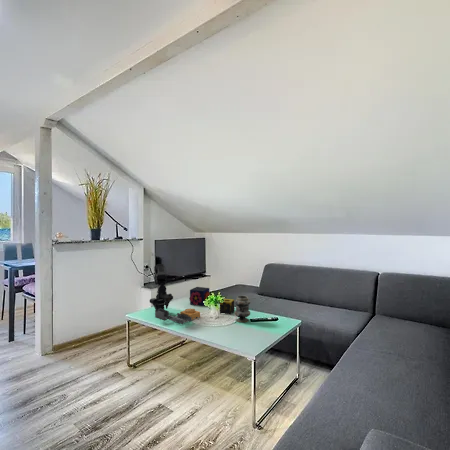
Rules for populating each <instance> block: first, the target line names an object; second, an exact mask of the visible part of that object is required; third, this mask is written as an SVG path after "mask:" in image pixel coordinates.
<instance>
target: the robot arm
mask: <svg viewBox="0 0 450 450" xmlns="http://www.w3.org/2000/svg"><path fill="white" fill-rule="evenodd" d="M153 271H154V274H155V276H156V279H155V280H156V286H157V290H156V295H155V296H156V297H154V298H153V297H152V298H150V299H149V303H150V304H152V306H153V307H154V309H155V310H156V311H158V309H163V310H167V309H168V308H169V306H170V305H169V304H170V302H171V301H172V300H174V296H173V295H172V293H167V286H166V284H167V283H168V275H166V273H165V265H164V264H161V263H158V264H156V265H154V267H153ZM155 310H154V311H155Z"/></svg>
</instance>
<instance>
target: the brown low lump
mask: <svg viewBox="0 0 450 450" xmlns="http://www.w3.org/2000/svg"><path fill="white" fill-rule="evenodd" d="M179 313H180V314H183V315H186V316H190V317H192V320H195V319H197V318H196V317H198V318H200V317H201V312H200V311H199V310H196V309H195V308H191V307H190V308H186V309H184V310H182V311H179ZM199 316H200V317H199ZM194 318H195V319H194Z"/></svg>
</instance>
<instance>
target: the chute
mask: <svg viewBox="0 0 450 450" xmlns="http://www.w3.org/2000/svg"><path fill="white" fill-rule="evenodd" d="M169 315H170V311H169V310H167V309H164V310H163V309H158V311H156V310H154V318H156V319H159V320H161V321H166V320H169V319H168V318H169Z"/></svg>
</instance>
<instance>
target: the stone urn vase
mask: <svg viewBox="0 0 450 450" xmlns="http://www.w3.org/2000/svg"><path fill="white" fill-rule="evenodd" d="M250 304H251V300H250V299H249V296H247V295H237V296H236V299H234V305H235V309H234V310H235V311H234V312H233V313H234V315H235V316H236V317H238V318H236V319H235V321H236V322H237V323H248V322H249V321H250V319H249V318H248V317H249V316H250V315H251V311H250V309H249V307H250V306H249V305H250Z"/></svg>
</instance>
